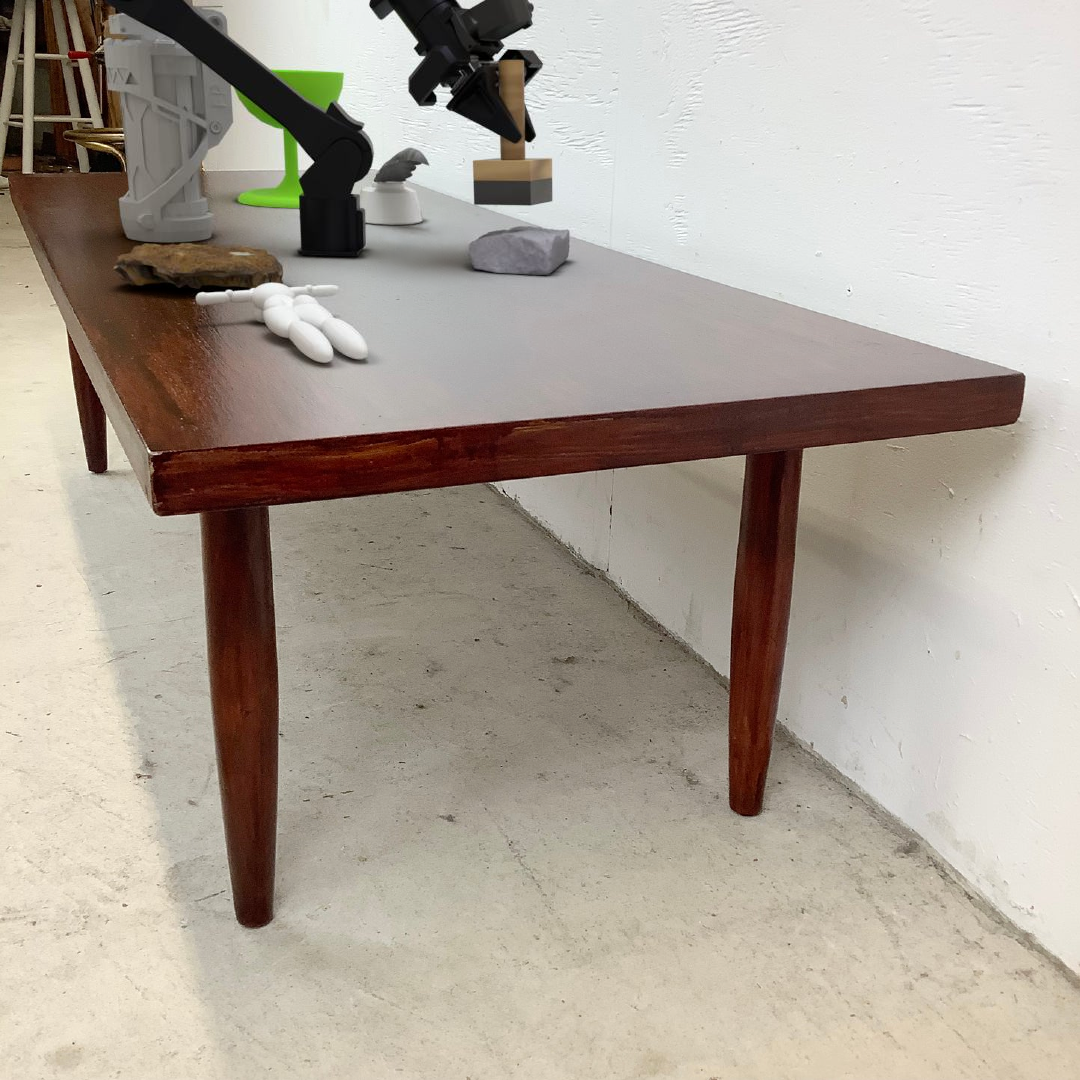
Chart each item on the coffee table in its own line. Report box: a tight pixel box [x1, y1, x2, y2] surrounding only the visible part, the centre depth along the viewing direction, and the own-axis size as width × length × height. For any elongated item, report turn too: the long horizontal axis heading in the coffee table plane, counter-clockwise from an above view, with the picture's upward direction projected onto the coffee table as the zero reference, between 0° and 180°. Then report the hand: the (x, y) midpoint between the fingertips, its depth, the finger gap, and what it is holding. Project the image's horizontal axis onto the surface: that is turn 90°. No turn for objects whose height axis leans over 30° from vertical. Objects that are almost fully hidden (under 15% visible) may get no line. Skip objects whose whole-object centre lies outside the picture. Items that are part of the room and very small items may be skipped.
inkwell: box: [359, 147, 430, 226], centre depth 151 cm, size 9×18×10 cm, turn 32°
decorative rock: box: [113, 242, 284, 290], centre depth 107 cm, size 11×4×15 cm
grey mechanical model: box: [103, 5, 234, 243], centre depth 132 cm, size 13×10×25 cm
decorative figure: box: [195, 283, 369, 364], centre depth 90 cm, size 4×12×18 cm
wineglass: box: [233, 68, 345, 209], centre depth 169 cm, size 16×16×18 cm
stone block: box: [468, 225, 571, 276], centre depth 126 cm, size 12×5×10 cm
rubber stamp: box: [472, 59, 553, 207], centre depth 120 cm, size 6×6×14 cm
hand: (526, 140), depth 120 cm, fingers closed on rubber stamp, 2 cm apart
